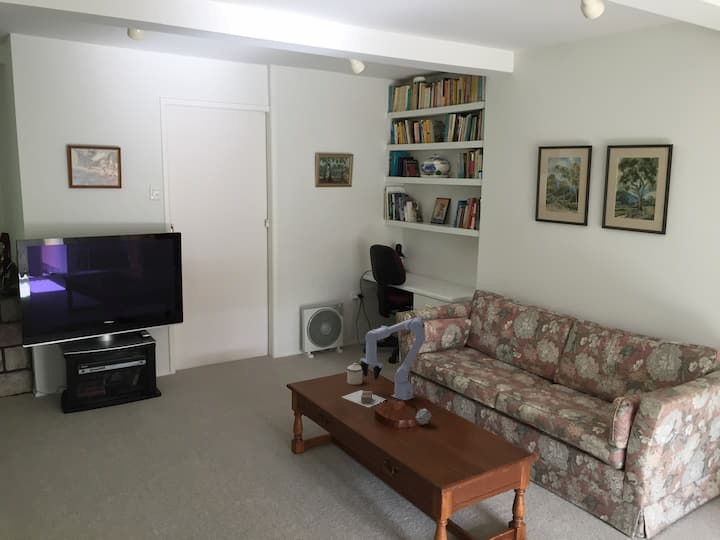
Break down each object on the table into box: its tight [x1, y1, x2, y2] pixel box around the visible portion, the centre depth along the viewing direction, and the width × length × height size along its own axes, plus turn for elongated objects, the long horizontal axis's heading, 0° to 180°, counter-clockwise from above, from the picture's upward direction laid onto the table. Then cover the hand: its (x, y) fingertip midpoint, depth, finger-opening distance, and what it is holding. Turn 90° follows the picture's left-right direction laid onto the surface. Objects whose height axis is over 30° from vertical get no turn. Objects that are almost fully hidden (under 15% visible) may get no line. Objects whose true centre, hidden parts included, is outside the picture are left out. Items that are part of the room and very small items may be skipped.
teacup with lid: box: [346, 362, 364, 386], centre depth 353 cm, size 12×9×12 cm
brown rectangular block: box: [361, 390, 373, 404], centre depth 324 cm, size 8×5×4 cm, turn 174°
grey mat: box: [341, 389, 386, 408], centre depth 328 cm, size 20×15×1 cm
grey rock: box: [412, 406, 434, 427], centre depth 296 cm, size 9×8×10 cm
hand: (370, 377), depth 334 cm, fingers open, 7 cm apart
